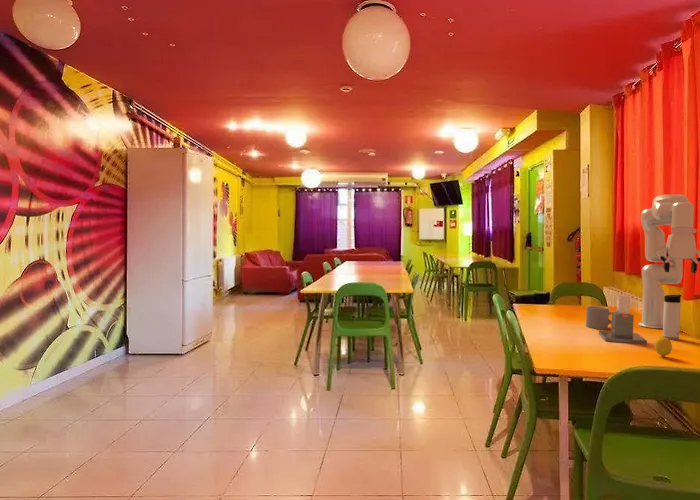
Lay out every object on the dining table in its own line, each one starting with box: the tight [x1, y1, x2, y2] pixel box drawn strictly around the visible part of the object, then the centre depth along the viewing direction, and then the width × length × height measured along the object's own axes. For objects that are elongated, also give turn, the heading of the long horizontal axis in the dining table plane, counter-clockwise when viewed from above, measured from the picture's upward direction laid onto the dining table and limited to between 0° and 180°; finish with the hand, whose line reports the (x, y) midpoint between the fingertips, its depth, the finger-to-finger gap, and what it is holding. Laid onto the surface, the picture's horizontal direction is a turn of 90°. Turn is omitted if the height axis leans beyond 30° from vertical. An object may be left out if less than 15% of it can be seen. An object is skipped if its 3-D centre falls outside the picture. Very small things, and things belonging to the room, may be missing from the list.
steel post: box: [616, 294, 630, 315], centre depth 221 cm, size 4×4×18 cm
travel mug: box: [662, 294, 683, 341], centre depth 223 cm, size 6×7×20 cm
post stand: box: [598, 311, 648, 345], centre depth 221 cm, size 16×16×12 cm
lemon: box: [654, 335, 673, 358], centre depth 190 cm, size 6×6×8 cm
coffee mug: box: [585, 305, 613, 330], centre depth 247 cm, size 13×10×10 cm
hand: (680, 272), depth 208 cm, fingers open, 9 cm apart
